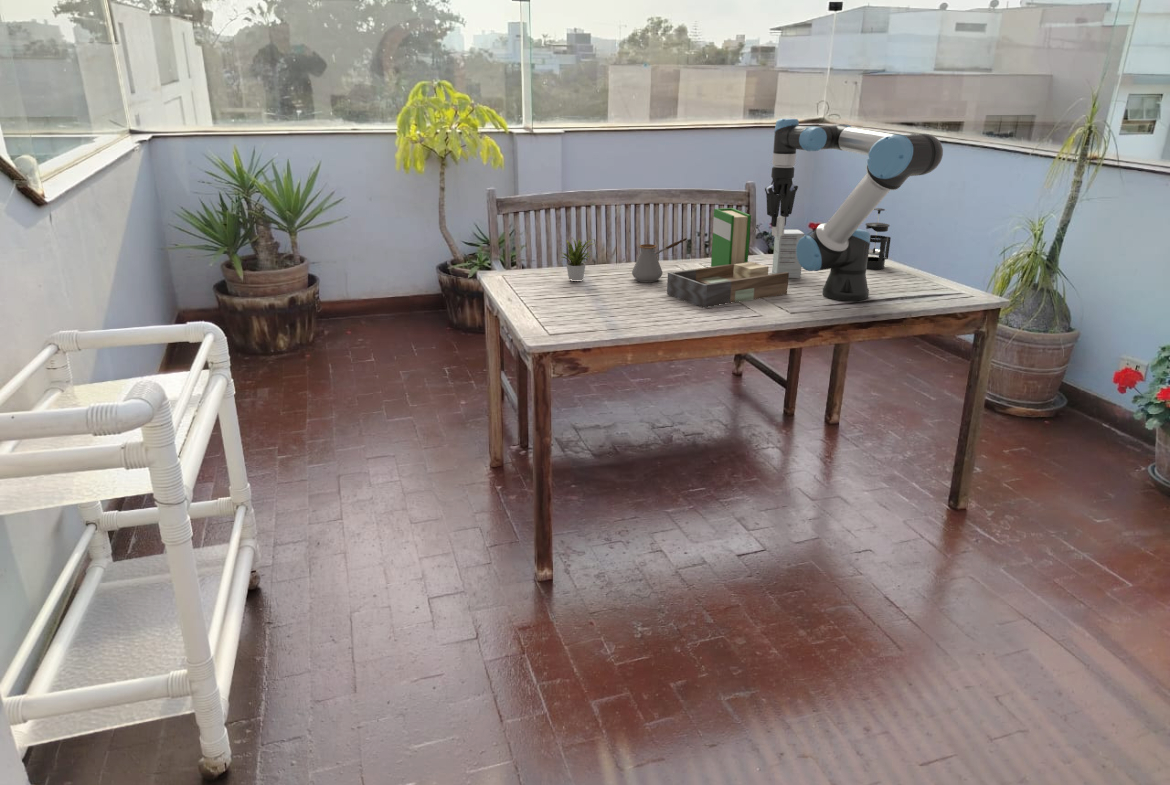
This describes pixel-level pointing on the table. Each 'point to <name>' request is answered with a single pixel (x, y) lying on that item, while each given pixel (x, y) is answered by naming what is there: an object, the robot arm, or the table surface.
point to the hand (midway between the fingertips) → (777, 235)
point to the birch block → (749, 270)
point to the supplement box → (787, 253)
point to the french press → (879, 262)
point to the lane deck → (723, 285)
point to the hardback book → (730, 237)
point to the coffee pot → (649, 263)
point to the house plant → (576, 260)
